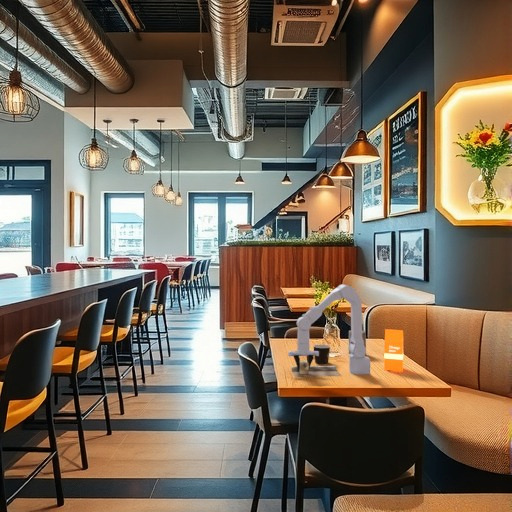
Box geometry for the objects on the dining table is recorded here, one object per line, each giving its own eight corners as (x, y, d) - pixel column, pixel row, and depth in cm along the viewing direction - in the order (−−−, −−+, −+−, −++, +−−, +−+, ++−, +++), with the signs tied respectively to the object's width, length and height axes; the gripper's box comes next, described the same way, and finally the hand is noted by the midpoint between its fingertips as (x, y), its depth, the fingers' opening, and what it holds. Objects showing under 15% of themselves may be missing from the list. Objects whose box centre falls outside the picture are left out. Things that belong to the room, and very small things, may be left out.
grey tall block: (360, 352, 269) (359, 327, 269) (369, 355, 260) (369, 329, 259) (345, 353, 266) (345, 328, 266) (354, 357, 256) (354, 330, 256)
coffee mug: (320, 362, 244) (320, 343, 244) (333, 365, 238) (333, 346, 238) (306, 366, 236) (306, 347, 236) (319, 369, 230) (319, 349, 229)
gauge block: (306, 370, 220) (306, 360, 220) (309, 375, 212) (309, 364, 212) (298, 370, 220) (298, 360, 220) (300, 375, 212) (300, 364, 212)
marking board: (335, 372, 224) (335, 365, 224) (341, 379, 212) (341, 372, 212) (291, 373, 222) (291, 366, 222) (295, 380, 210) (295, 372, 210)
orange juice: (402, 371, 225) (402, 331, 225) (384, 370, 228) (384, 330, 228) (403, 368, 233) (403, 329, 232) (385, 366, 236) (385, 328, 235)
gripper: (316, 340, 222) (316, 368, 222) (287, 341, 221) (287, 369, 221) (319, 343, 215) (319, 372, 215) (289, 344, 214) (289, 372, 214)
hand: (303, 371), depth 217 cm, fingers closed on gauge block, 4 cm apart
